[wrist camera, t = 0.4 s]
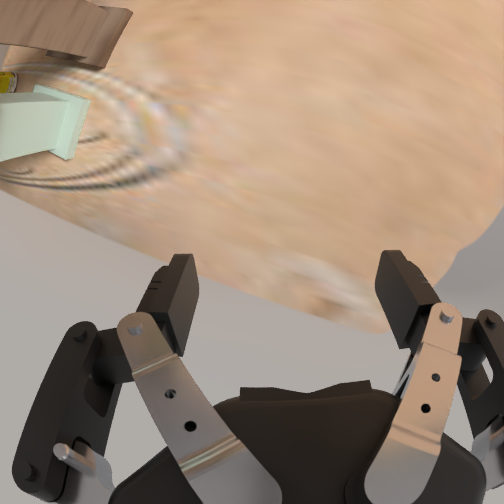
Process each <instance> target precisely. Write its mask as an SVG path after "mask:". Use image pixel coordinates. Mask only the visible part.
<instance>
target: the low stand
mask: <svg viewBox="0 0 504 504" xmlns="http://www.w3.org/2000/svg"><path fill="white" fill-rule="evenodd" d="M90 103H91V100H90V99H87V98H84V97H81V96H78V95H75V94H72V93H68V92H65V91H62V90H59V89H55V88H52V87H49V86H45V85H37V84H35V86H34V89H33V92H25V93H0V162H1V161H5V160H8V159H12V158H16V157H20V156H24V155H28V154H32V153H36V152H41V151H46V150H48V151H50V152H52V153H54V154H55V155H57V156H59V157H61V158H63V159H65V160H67V159H71V158H74V154H75V150H76V146H77V143H78V139H79V136H80V133H81V129H82V126H83V123H84V120H85V117H86V114H87V111H88V108H89V105H90Z"/></svg>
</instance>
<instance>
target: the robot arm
mask: <svg viewBox="0 0 504 504" xmlns="http://www.w3.org/2000/svg"><path fill="white" fill-rule="evenodd" d="M375 291H376V294H377V297H378V299H379V301H380V303H381V306H382V308H383V310H384V312H385V315H386V317H387V319H388V322H389V324H390V327H391V329H392V332H393V334H394V336H395V339H396V341H397V344H398V347H399V349H404V348H410V350H411V352H410V354H409V356H408V358H407V361H406V363H405V366H404V368H403V371H402V373H401V376H400V378H399V380H398V383H397V385H396V387H395V389H394V391H393V393H392V394H390V393H388V392H385V391H381V390H377V389H372V388H371V384H370V380H365V381H358V382H349V383H340V384H337V385H334V386H331V387H328V388H325V389H321V390H318V391H315V392H311V393H301V392H296V391H289V390H284V389H279V388H274V387H268V388H267V387H266V388H247V387H241V388H240V396H238V397H234V398H231V399H227V400H225V401H222V402H220V403H218V404H216V405H214V406H213V407H212V405H211V404H210V402H209V401H208V400H207V398H206V397H205V395H204V394H203V393H202V391H201V390H200V388H199V387H198V385H197V384H196V383H195V381H194V379H193V378H192V376H191V375H190V373H189V372H188V370H187V369H186V368H185V366H184V364H183V363H182V361H181V360H180V358H179V356H180V357H183V354H184V350H185V346H186V342H187V339H188V335H189V331H190V327H191V323H192V319H193V315H194V312H195V308H196V305H197V301H198V297H199V283H198V277H197V272H196V267H195V261H194V257H193V254H174V256H173V258H172V260H171V262H170V264H169V266H162V267H161V268H160V269H159V270H158V271H157V272H155V274H154V276H153V278H152V280H151V283H150V284H149V286H148V288H147V290H146V292H145V294H144V296H143V298H142V300H141V302H140V304H139V306H138V308H137V310H136V312H135V313H131V314H129V315H127V316H125V317H124V318H123V319H122V320H121V321H120V322H119V324H118V326H117V328H113V329H107V330H102V331H98V330H97V328H96V326H95V325H94V324H93V323H91V322H88V321H83V322H79V323H76V324H75V325H73V326H72V327H70V328H69V329H68V331H67V332H66V334H65V336H64V338H63V340H62V342H61V344H60V345H59V347H58V349H57V351H56V353H55V355H54V357H53V360H52V362H51V364H50V366H49V368H48V370H47V372H46V374H45V377H44V379H43V381H42V383H41V386H40V388H39V391H38V393H37V395H36V398H35V400H34V402H33V405H32V407H31V410H30V413H29V416H28V418H27V421H26V423H25V426H24V429H23V432H22V435H21V438H20V441H19V444H18V447H17V451H16V454H15V457H14V461H13V465H12V475H13V478H14V481H15V483H16V484H17V486H18V487H19V488H20V489H21V490H22V491H24V492H26V493H28V494H30V495H33V496H35V497H37V498H39V499H40V500H42V501H44V502H46V503H49V504H482V502H483V499H484V495H485V492H486V491H488V490H490V489H495V488H497V487H499V486H501V485H503V484H504V322H503V320H502V319H501V317H500V316H499V315H498V314H497V313H495V312H494V311H491V310H487V309H485V310H482V311H480V313H479V314H478V316H477V318H476V319H470V318H463V317H462V315H461V313H460V312H459V310H458V309H457V308H455V307H454V306H452V305H450V304H448V303H442V302H441V301H440V299H439V297H438V296H437V294H436V293H435V291H434V290H433V288H432V287H431V285H430V284H429V283H428V281H427V279H426V278H425V277H424V275H423V273H422V272H421V270H420V269H419V267H417V266H416V265H415V264H413V263H412V262H411V261H407V259H406V258H405V256H404V255H403V253H402V252H401V251H400V250H384V251H383V252H382V254H381V258H380V262H379V266H378V271H377V275H376V279H375ZM486 357H487V359H488V361H489V363H490V366H491V368H492V370H493V380H492V382H491V384H490V382H489V379H488V377H487V375H486V372H485V370H484V368H483V365H482V362H483V361H484V360H485V358H486ZM132 381H135V383H136V385H137V387H138V389H139V392H140V394H141V396H142V398H143V400H144V402H145V404H146V406H147V408H148V410H149V412H150V414H151V416H152V418H153V420H154V422H155V424H156V426H157V428H158V430H159V431H160V433H161V435H162V437H163V438H164V440H165V442H166V444H167V447H165V448H164V449H163V450H162V451H161V452H159V453H158V454H157V455H156V456H154V457H153V458H152V459H151V460H150V461H148V462H147V463H146V464H145V465H143V466H142V467H141V468H140V469H138V470H137V471H136V472H135V473H133V474H132V475H131V476H129V477H128V478H127V479H125V480H124V481H123V482H121V483H120V484H119V485H118V486H117V487H116V488H115V487H114V486H113V483H112V471H111V466H110V464H109V463H108V461H107V460H106V459H105V458H104V453H105V449H106V445H107V440H108V436H109V432H110V428H111V424H112V420H113V416H114V412H115V408H116V405H117V401H118V397H119V394H120V390H121V387H122V383H125V382H132ZM456 385H458V388H459V391H460V394H461V397H462V400H463V403H464V406H465V410H466V413H467V416H468V419H469V423H470V427H471V430H472V434H473V438H474V441H473V444H472V450H471V451H470V452H469V451H467V450H466V449H465V448H463V447H462V446H460V445H459V444H458V443H457V442H456V441H454V440H453V439H452V438H450V437H449V436H447V435H446V434H445V433H444V432H443V430H444V427H445V424H446V421H447V418H448V415H449V411H450V407H451V404H452V401H453V397H454V393H455V389H456Z"/></svg>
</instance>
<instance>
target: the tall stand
mask: <svg viewBox="0 0 504 504" xmlns="http://www.w3.org/2000/svg"><path fill="white" fill-rule="evenodd" d="M132 14H133V12H132V11H130V10H128V9H125V8H116V7H104V6H96V5H94V4H92V3H90V2H87V1H85V0H0V44H5V45H6V44H7V45H15V46H24V47H31V48H38V49H44V50H48V52H47V54H46V56H51V57H57V58H62V59H67V60H72V61H77V62H81V63H86V64H90V65H94V66H98V67H102V68H105V66H106V64H107V62H108V60H109V58H110V56H111V53H112V51H113V49H114V47H115V45H116V43H117V41H118V39H119V37H120V35H121V34H122V32H123V30H124V28H125V26H126V24H127V23H128V21H129V19H130V17H131V16H132Z"/></svg>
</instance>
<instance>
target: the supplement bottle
mask: <svg viewBox="0 0 504 504" xmlns="http://www.w3.org/2000/svg"><path fill="white" fill-rule="evenodd" d="M16 84H17V75H16V73H14V72H0V93H13V92H14V90H15V88H16Z"/></svg>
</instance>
